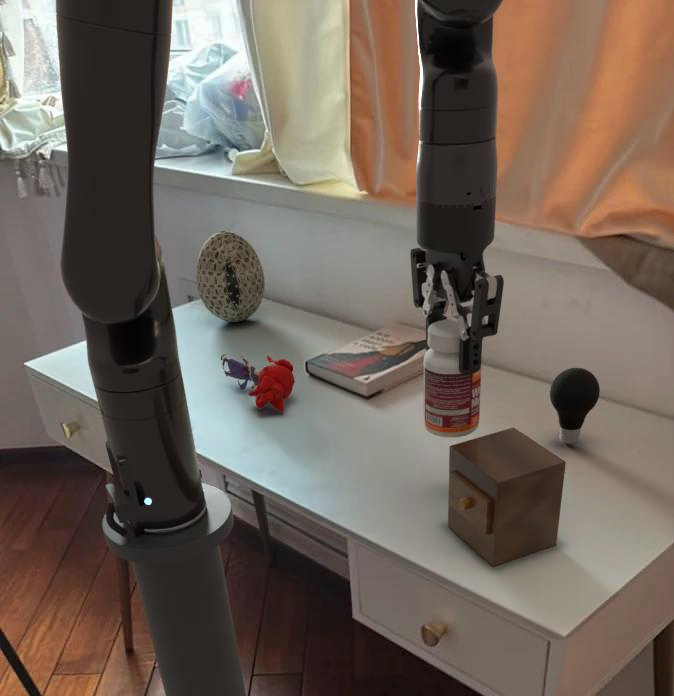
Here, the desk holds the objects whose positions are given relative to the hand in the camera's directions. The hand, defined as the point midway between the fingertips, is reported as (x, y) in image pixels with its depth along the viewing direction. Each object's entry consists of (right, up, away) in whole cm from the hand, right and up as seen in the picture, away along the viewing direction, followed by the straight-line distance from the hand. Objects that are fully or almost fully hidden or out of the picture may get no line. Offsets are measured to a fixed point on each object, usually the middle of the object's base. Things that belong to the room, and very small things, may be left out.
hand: (452, 361), depth 90 cm
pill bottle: (0, -6, +5) cm, 8 cm away
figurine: (-24, +4, +34) cm, 42 cm away
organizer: (+6, -18, +2) cm, 19 cm away
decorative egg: (-30, +25, +62) cm, 73 cm away
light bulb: (+17, -6, +18) cm, 25 cm away
